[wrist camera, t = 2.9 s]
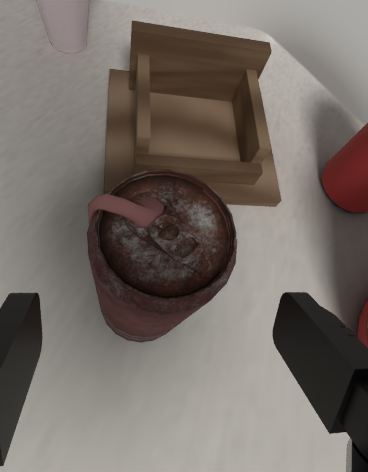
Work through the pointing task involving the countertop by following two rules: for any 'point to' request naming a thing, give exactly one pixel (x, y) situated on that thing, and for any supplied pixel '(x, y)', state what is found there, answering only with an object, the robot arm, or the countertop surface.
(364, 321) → the citrus juicer
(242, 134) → the dock
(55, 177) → the countertop surface
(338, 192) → the beer can
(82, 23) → the smoothie
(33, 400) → the countertop surface
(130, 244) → the can
